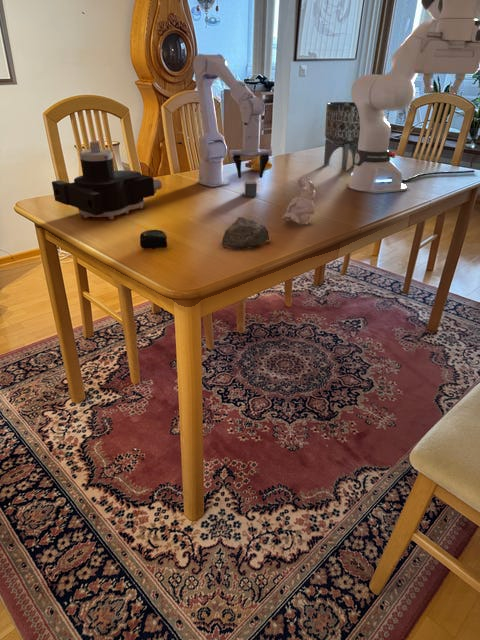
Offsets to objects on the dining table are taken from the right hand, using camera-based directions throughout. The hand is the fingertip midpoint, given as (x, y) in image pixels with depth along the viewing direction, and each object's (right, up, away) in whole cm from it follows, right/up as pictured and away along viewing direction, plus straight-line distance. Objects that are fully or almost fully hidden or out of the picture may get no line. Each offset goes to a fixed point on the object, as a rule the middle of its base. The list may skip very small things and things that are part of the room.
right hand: (440, 93), depth 124 cm
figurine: (-37, -32, +15) cm, 51 cm away
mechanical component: (-94, -27, +22) cm, 100 cm away
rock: (-53, -42, -2) cm, 67 cm away
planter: (-8, +9, +87) cm, 88 cm away
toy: (-46, +5, +78) cm, 91 cm away
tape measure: (-77, -44, -6) cm, 88 cm away
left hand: (-51, -11, +38) cm, 65 cm away
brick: (-51, -17, +41) cm, 68 cm away
